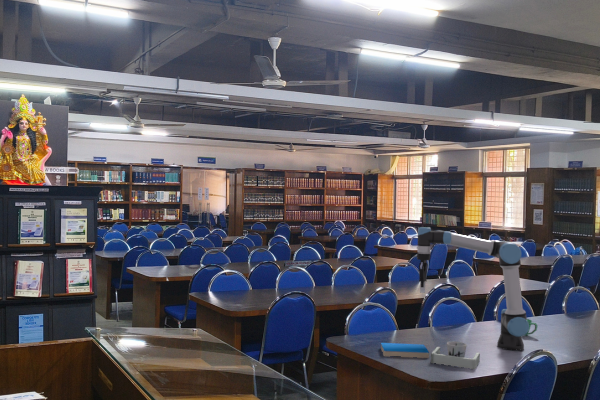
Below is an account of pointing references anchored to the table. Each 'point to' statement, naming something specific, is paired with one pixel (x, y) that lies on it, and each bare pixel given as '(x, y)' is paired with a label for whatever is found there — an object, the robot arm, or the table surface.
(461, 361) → the cradle
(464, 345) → the mug
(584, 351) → the table surface
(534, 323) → the mug
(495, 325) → the table surface
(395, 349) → the book
